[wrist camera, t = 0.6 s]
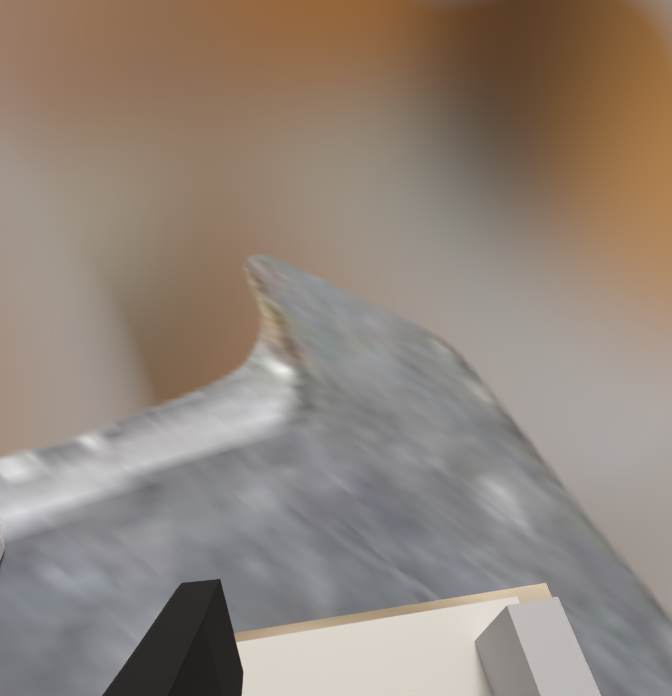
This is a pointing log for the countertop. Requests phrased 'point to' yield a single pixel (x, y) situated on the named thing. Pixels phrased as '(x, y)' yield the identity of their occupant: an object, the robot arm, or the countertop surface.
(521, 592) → the base
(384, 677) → the white strip
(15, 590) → the countertop surface
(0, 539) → the white cup
